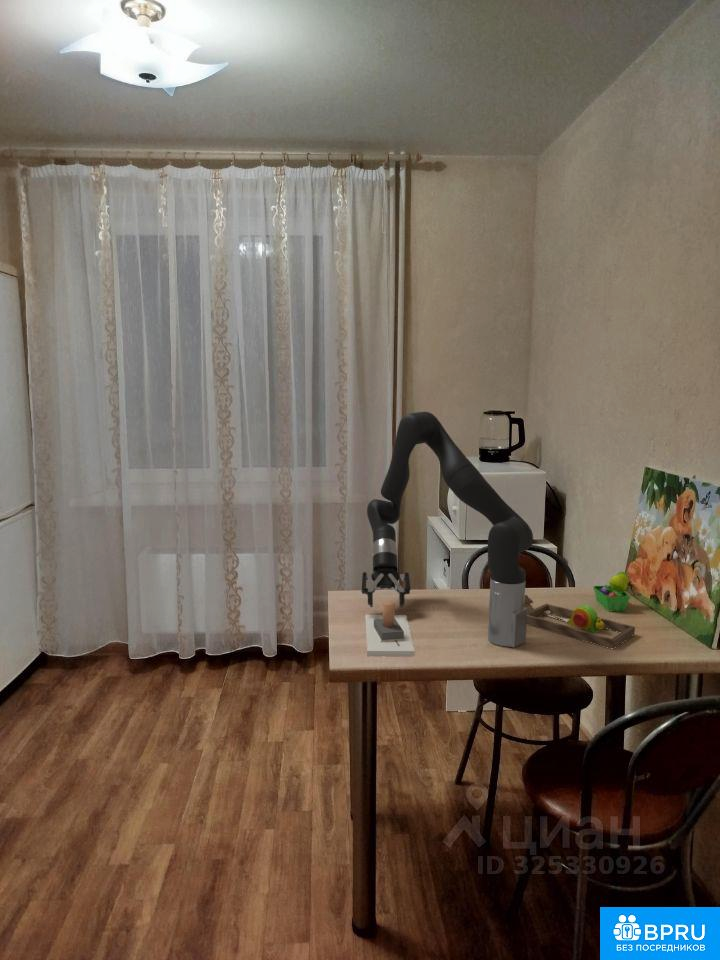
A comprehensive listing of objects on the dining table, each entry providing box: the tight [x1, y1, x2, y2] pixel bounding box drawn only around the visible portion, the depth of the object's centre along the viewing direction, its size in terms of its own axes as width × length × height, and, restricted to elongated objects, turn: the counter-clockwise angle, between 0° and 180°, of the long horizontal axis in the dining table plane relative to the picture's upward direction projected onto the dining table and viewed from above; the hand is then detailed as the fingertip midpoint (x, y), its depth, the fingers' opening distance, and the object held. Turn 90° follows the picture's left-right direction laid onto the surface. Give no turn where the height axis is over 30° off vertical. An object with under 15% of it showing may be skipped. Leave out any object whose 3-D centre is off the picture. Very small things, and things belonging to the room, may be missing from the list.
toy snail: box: [543, 604, 605, 633], centre depth 190 cm, size 6×20×7 cm, turn 38°
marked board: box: [365, 614, 415, 658], centre depth 179 cm, size 26×12×2 cm, turn 1°
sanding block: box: [374, 601, 404, 641], centre depth 177 cm, size 10×6×8 cm, turn 11°
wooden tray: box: [526, 603, 636, 650], centre depth 186 cm, size 27×14×2 cm, turn 46°
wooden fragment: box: [524, 594, 535, 612], centre depth 209 cm, size 26×11×1 cm, turn 173°
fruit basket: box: [592, 571, 631, 612], centre depth 204 cm, size 11×9×11 cm
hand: (386, 606), depth 188 cm, fingers open, 8 cm apart
